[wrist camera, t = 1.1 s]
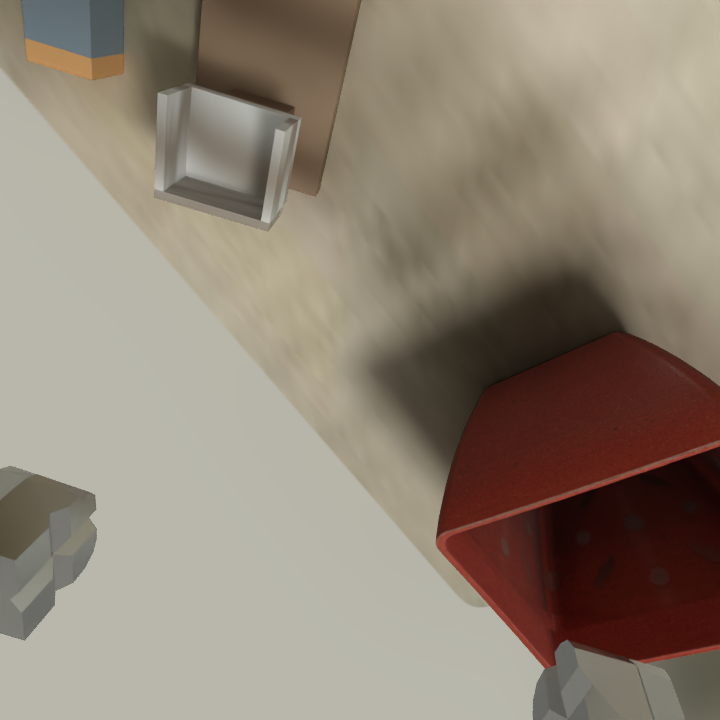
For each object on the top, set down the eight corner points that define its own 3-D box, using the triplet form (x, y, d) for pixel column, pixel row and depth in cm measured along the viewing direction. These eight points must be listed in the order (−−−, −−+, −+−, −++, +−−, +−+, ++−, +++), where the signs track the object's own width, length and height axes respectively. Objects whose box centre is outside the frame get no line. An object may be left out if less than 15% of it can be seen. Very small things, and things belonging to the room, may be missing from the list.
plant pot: (727, 443, 47) (850, 629, 33) (524, 509, 54) (555, 682, 40) (654, 274, 39) (775, 424, 25) (429, 379, 47) (427, 538, 33)
